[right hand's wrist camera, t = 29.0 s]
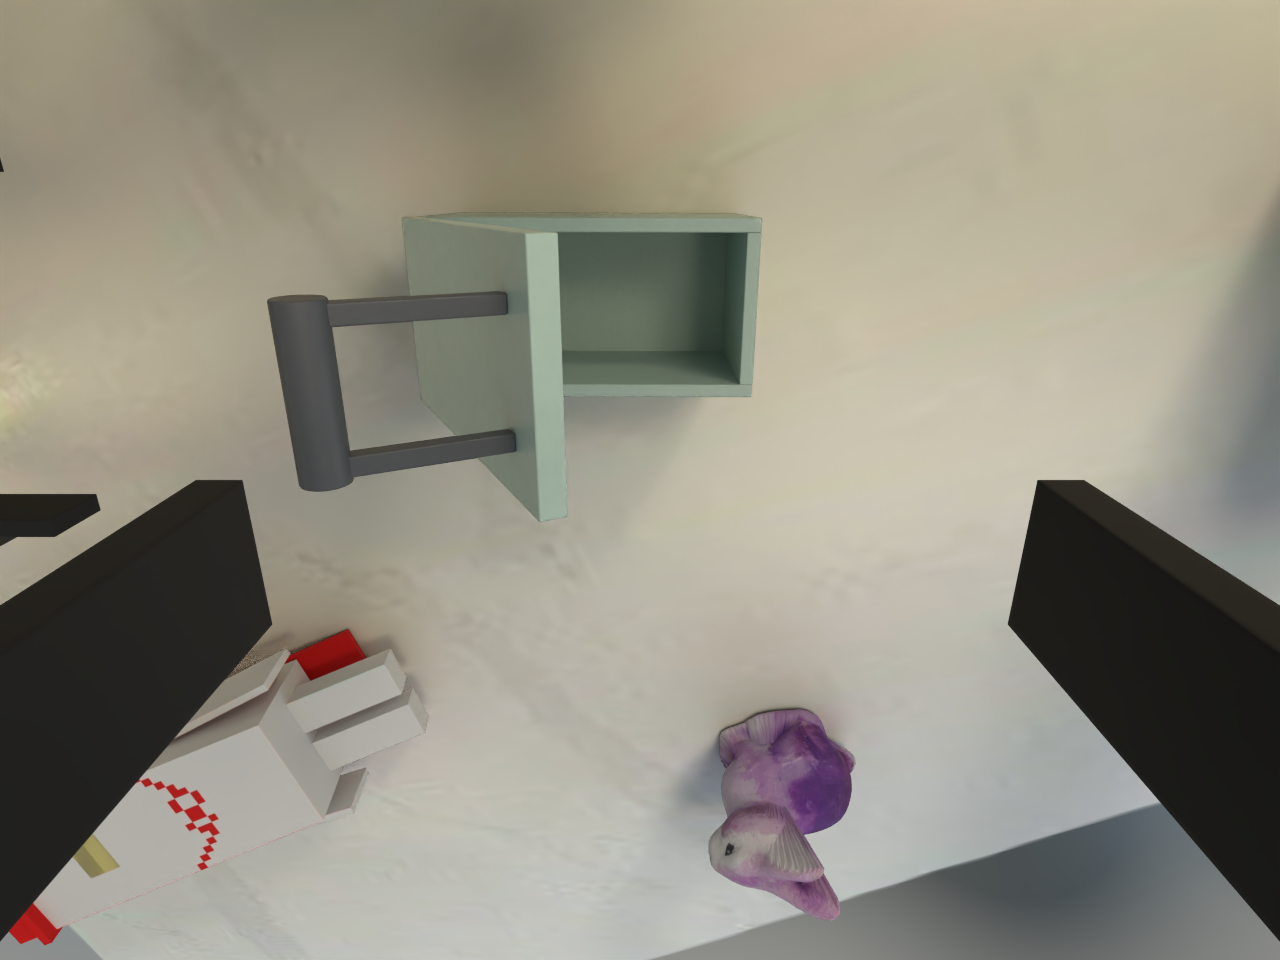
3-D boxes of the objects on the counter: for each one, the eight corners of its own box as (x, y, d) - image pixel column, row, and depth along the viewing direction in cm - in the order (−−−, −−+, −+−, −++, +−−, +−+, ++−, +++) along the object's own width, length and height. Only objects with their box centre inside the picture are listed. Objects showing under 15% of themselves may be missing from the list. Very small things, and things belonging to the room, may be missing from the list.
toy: (433, 804, 51) (27, 970, 51) (454, 692, 63) (130, 824, 63) (347, 664, 47) (-93, 844, 47) (388, 574, 59) (42, 716, 59)
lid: (558, 232, 22) (258, 238, 18) (568, 517, 25) (316, 568, 22) (422, 217, 37) (242, 218, 33) (440, 398, 40) (277, 416, 36)
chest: (737, 213, 46) (762, 217, 37) (730, 359, 50) (751, 397, 40) (460, 212, 46) (415, 217, 37) (472, 358, 49) (433, 396, 40)
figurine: (687, 754, 61) (701, 920, 47) (778, 679, 58) (821, 831, 44) (766, 814, 63) (801, 989, 49) (856, 744, 61) (921, 909, 47)
